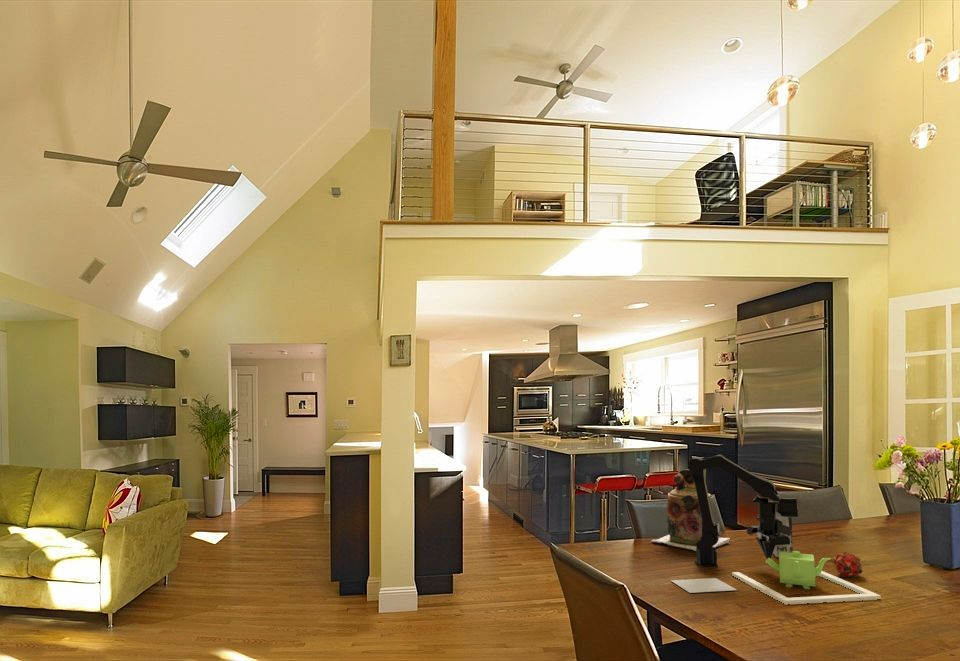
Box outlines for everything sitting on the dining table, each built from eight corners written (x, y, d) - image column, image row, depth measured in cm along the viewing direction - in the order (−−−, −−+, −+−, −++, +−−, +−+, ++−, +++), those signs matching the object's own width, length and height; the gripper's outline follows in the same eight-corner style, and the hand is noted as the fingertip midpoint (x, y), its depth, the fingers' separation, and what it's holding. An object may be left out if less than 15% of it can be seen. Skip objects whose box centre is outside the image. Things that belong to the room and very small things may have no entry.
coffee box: (793, 558, 258) (792, 516, 259) (776, 557, 259) (774, 515, 260) (787, 552, 267) (786, 511, 268) (770, 551, 268) (769, 511, 269)
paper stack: (754, 601, 208) (754, 599, 208) (679, 606, 204) (679, 603, 204) (715, 579, 231) (715, 577, 231) (647, 583, 227) (647, 581, 227)
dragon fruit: (851, 576, 240) (850, 589, 229) (829, 559, 243) (827, 572, 233) (866, 559, 237) (866, 572, 227) (844, 543, 240) (842, 555, 230)
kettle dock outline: (785, 604, 204) (785, 600, 204) (732, 575, 235) (732, 572, 235) (880, 599, 209) (880, 595, 209) (816, 571, 240) (816, 568, 240)
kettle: (832, 589, 219) (831, 554, 220) (800, 594, 214) (799, 559, 215) (795, 577, 233) (793, 544, 234) (764, 581, 228) (763, 548, 229)
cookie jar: (679, 534, 300) (677, 462, 303) (731, 543, 283) (729, 467, 285) (649, 543, 283) (647, 467, 286) (703, 553, 266) (700, 472, 268)
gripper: (803, 519, 234) (805, 565, 233) (773, 509, 252) (774, 552, 251) (774, 520, 232) (775, 566, 231) (745, 510, 251) (746, 553, 250)
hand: (768, 559), depth 241 cm, fingers closed
